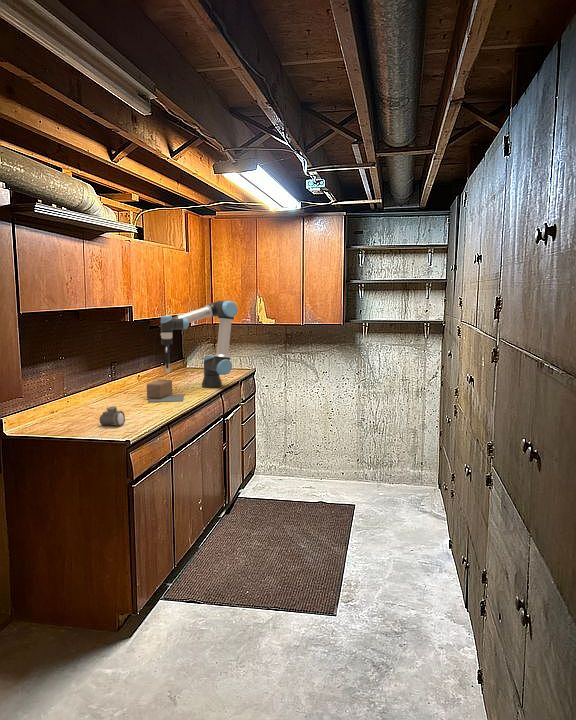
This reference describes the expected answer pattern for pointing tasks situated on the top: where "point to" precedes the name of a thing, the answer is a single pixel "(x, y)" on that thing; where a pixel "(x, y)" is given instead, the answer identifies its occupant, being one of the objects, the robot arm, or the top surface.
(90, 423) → the top surface
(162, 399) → the mat
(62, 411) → the top surface
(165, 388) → the block
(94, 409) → the top surface
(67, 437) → the top surface
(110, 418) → the pipe fitting
